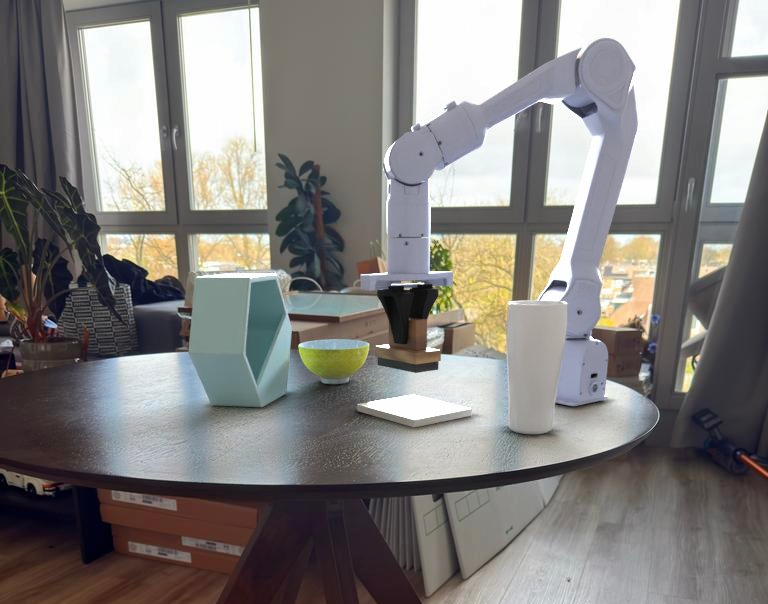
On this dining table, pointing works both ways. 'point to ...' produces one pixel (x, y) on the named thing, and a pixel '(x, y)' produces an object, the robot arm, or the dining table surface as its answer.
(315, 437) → the dining table surface
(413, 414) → the tile
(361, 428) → the dining table surface
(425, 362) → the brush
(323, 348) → the bowl
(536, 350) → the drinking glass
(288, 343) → the planter
